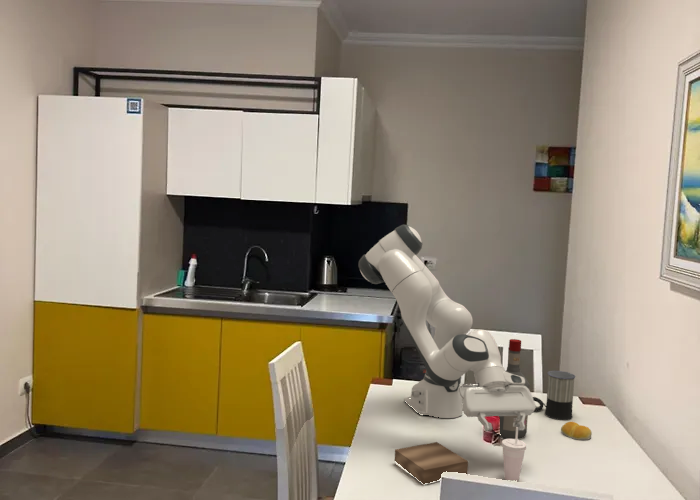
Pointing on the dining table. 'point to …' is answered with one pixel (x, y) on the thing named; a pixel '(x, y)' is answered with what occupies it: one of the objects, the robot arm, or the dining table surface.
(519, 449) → the smoothie
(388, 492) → the dining table surface
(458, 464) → the plinth
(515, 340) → the liquor
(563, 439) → the dining table surface
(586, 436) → the bread roll
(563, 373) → the milk frother
